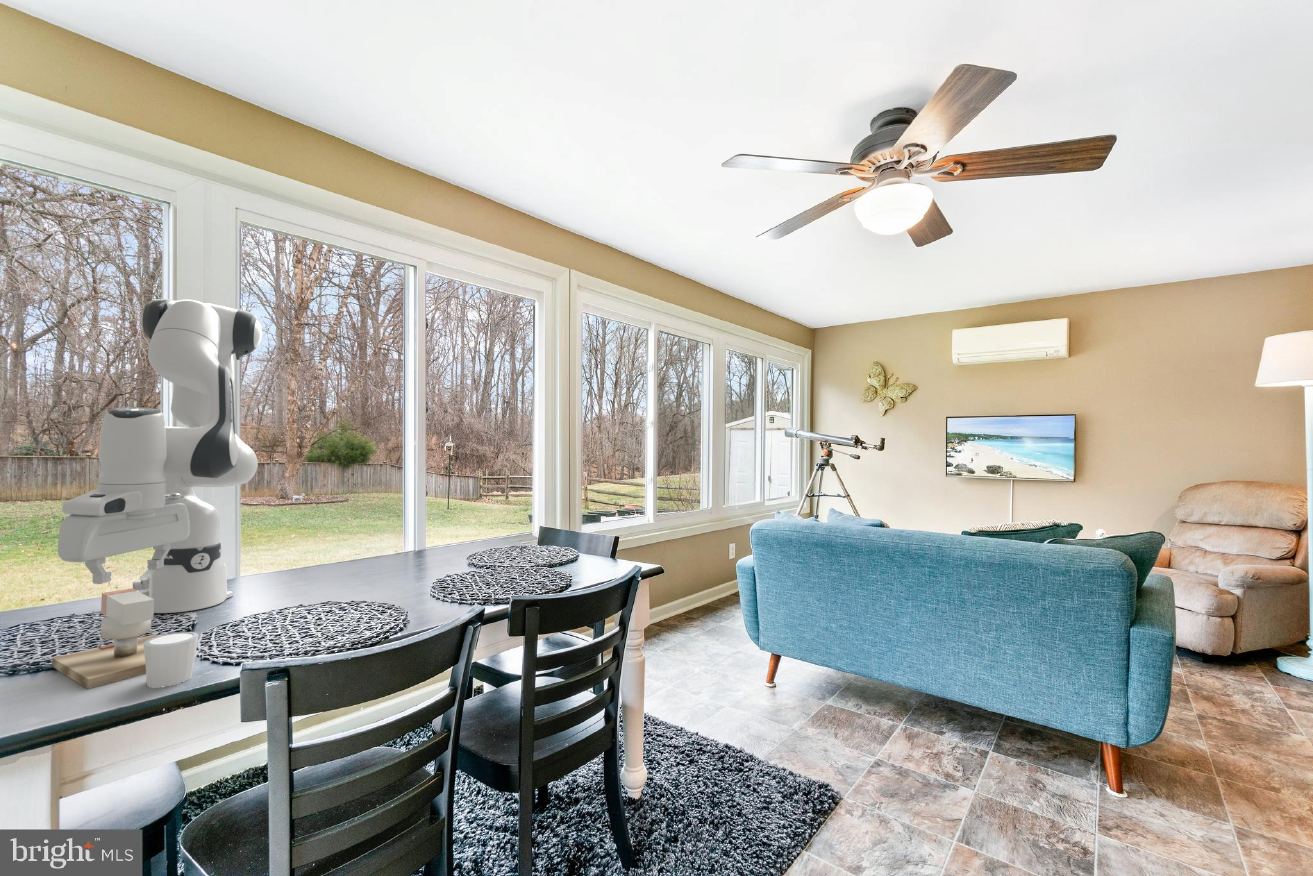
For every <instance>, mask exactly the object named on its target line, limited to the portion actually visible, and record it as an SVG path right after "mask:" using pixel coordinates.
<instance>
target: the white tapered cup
mask: <svg viewBox="0 0 1313 876" xmlns="http://www.w3.org/2000/svg"><path fill="white" fill-rule="evenodd" d="M198 640H199V634H198V633H197V632H193V631H179V632H172V633H167V634H161V635H158V636H157V637H153V638H151V639H149V640H147V641H145V642H144V653H145V665H146V673H145V675H146V676H145V678H146V685H147V687H148V686H150V687H149V688H152V687H162V686H169V687H171V686H170V685H173V686H177V685H179V684H178V683H180V684H182V683H181V682H183V681H186V680H187V681H189V680H191V678H192V677H193V674H194V666H195V660H196V655H197V654H196V653H197V649H198V648H197V646H198V642H199V641H198ZM188 679H189V680H188ZM187 681H186V682H187ZM183 683H184V682H183ZM176 684H177V685H176ZM162 688H163V687H162Z"/></svg>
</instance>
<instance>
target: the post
mask: <svg viewBox="0 0 1313 876" xmlns="http://www.w3.org/2000/svg"><path fill="white" fill-rule="evenodd" d="M138 638H139V636H135V637H130V638H124V639H113V643H114V657H115V658H123V657H128V656H132V655H135V654H136V653H137V641H138Z"/></svg>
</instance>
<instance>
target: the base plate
mask: <svg viewBox="0 0 1313 876" xmlns="http://www.w3.org/2000/svg"><path fill="white" fill-rule="evenodd" d="M157 636H159V635H158V634H150V635H147V636H141V637H138V641H137V653H136V654H135V655H132V656H128V657H123V658H115V657H114V642H113V643H110V644H104V645H100V646H98V647H94V648H89V649H85V650H80V651H77V652H71V653H67V654H62V655H59V656H53V657H52V658H51V666H52V665H53V667H52V668H54V669H55V670H57V671H58V672H60V673H62V674H63V675H65V676H66V677H68V678H70V679H72V680H74V681H75V682H76V683H78V684H80V685H81V686H83V687H84V688H86V689H87V690H89V689H93V688H96V687H99V686H102V685H106V684H110V683H115V682H118V681H122V680H126V679H128V678H133V677H136V676H140V675H144V674H146V665H145V653H144V642H145V641H147V640H149V639H151V638H153V637H157Z"/></svg>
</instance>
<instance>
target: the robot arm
mask: <svg viewBox="0 0 1313 876" xmlns="http://www.w3.org/2000/svg"><path fill="white" fill-rule="evenodd" d="M140 322H141V326H142V330H143V333H144V335H145V336H146V337H147V338H149V340H150V341H149V345H148V351H147V359H148V361H149V363H150V365H151V367H152V369H153V370H154V371H155V372H156V374H158V375H159V376H160V377H162V378H163V379H164V380H166V381H168V382H170V383H172V384H174V387H173V391H172V392H173V393H172V397H171V404H170V405H171V406H170V412H171V414H172V416H173V417H174V418H175V420H177V421H178V422H179V423H182V424H183V425H185V426H167V425H166V421H165V417H164V414H163V411H162V410H159V409H156V408H152V407H141V406H139V407H138V406H129V407H117V408H113V409H111V410H108V411H106V412H105V415H104V417H103V420H102V424H101V429H100V432H99V441H98V454H97V457H98V461H99V463H100V474H99V477H98V479H97V484H96V485H97V487H96V488H94V489H92V490H91V491H88V492H86V493H82V494H81V495H79V496H76V497H74V498H70V499H68V500H66V501H64V502H63V503H62V505H61V511H62V513H63V514H65V515H68V516H66V517H64V519H63V520H62V521H61V523H60V527H59V530H58V537H57V538H58V540H57V555H58V557H59V558H60V559H61V560H62V561H63V562H67V563H84V566H85V567H86V568H87V570H89V572H90V573H91V574H92V584H94V585H102V584H106V583H110V582H111V581H112V571H106V569H105V568H104V566H103V565H105V564H106V558H109V557H112V556H117V555H121V554H123V555H124V554H128V553H131V552H136V551H140V550H144V549H151V548H152V549H153V550H155V551H154V552H153V556H152V558H151V559H148V560H147V562H146V563H147V570H146V571H145V572H144V573H143V574H141V575H140V576H139V579H138V580H134V581H133V582H132V588H133V589H135V590H137V591H138V592H140V593H142V594H144V595H146V596H148V597H150V598H152V599H154V614H168V613H169V614H172V613H183V612H189V611H190V612H191V611H197V610H201V609H205V608H206V609H207V608H210V607H214V606H217V605H219V604H221V603H223V602H224V601H226V600H227V599H228V598H231V597H233V595H234V592H233V591H230V590H228V581H227V580H228V579H227V578H228V577H227V565H226V563H224V562H222V560H220V558H221V556H222V555H221V553H222V547H221V542H220V541H219V539H220V523H221V522H220V520H221V515H220V512H219V511H218V509H217V508H216V507H215V506H213V504H211V503H207V502H206V501H204V500H202V499H200V498H199V497H198V496H197V494H196V492H195V490H194V488H198V487H199V488H226V487H235V486H238V485H245V484H247V483H248V482H250V481H251V480H252V479H253V478H254V476H255V474H256V472H257V470H258V468H259V467H258V466H259V465H258V464H259V461H258V457H257V454H256V453H255V451H254V450H253V449H252V448H251V447H250V446H249V445H248V444H246V443H245V442H244V441H242V440H241V438H239V436H238V435H237V433H236V428H235V426H236V425H235V424H236V423H235V396H234V381H235V380H234V379H235V369H234V368H235V367H234V358H233V355H235V358H236V359H235V360H236V361H239V360H241V359H242V358H243V356H247V355H249V354H251V353H252V352H254V351H255V350H256V349H257V347H258V345H259V344H260V343H261V342H260V341H261V339H262V334H263V333H262V332H263V331H262V326H261V323H260V321H259V318H258V317H257V316H256V314H255V313H253V312H250V311H246V310H244V309H241V308H238V309H236V308H231V307H229V306H227V307H226V306H223V305H217V304H214V303H207V302H206V303H203V302H201V301H198V300H193V299H180V300H172V299H170V298H168V299H167V298H159V299H153V300H151V301H150V302H148V303H146V304H145V306H144V308H143V311H142V313H141V321H140Z"/></svg>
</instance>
